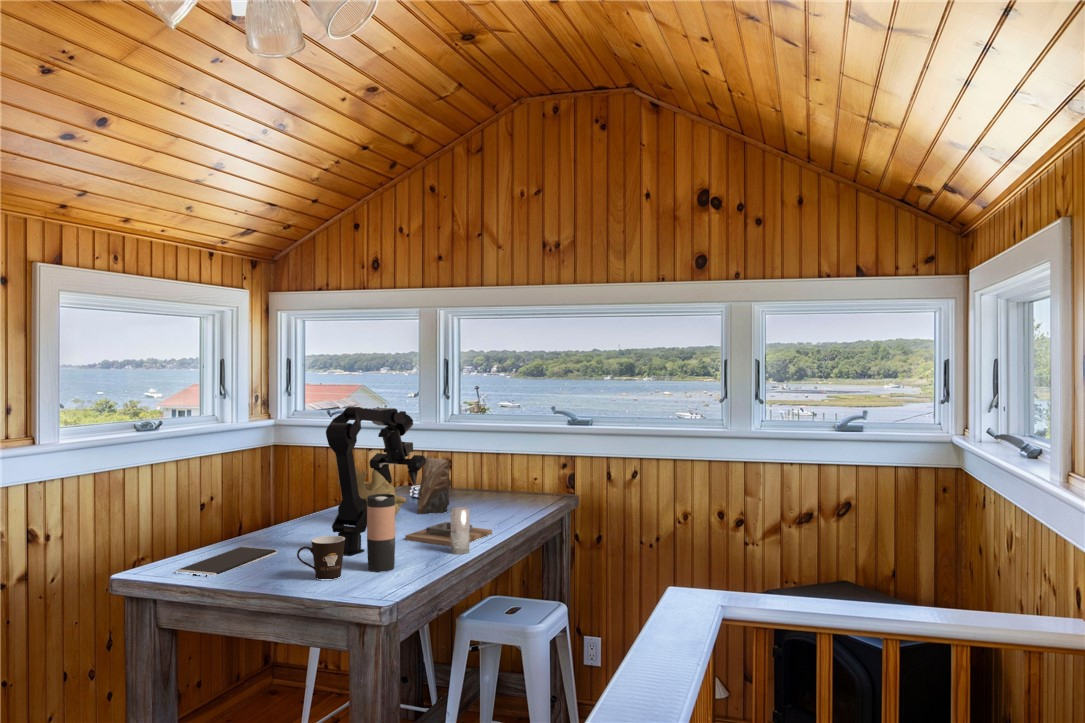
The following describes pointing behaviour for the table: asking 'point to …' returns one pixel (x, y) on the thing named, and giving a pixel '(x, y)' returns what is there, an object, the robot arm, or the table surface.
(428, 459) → the brown carved rock
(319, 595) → the table surface
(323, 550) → the coffee mug
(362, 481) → the decorative coral
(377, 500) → the travel mug
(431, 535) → the brown flat square board
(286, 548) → the table surface
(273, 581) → the table surface
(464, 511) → the steel cup
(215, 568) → the dark rectangular slab
